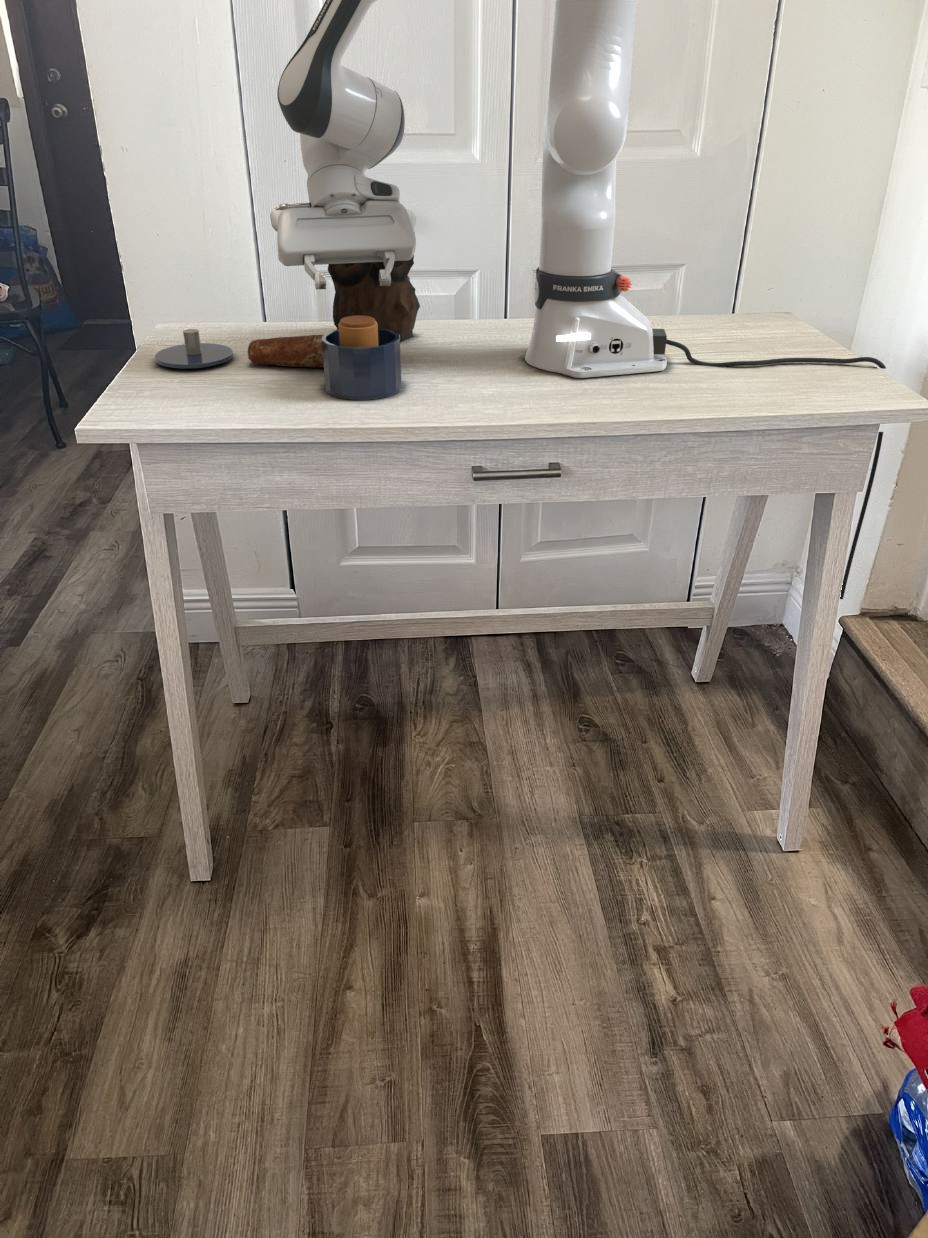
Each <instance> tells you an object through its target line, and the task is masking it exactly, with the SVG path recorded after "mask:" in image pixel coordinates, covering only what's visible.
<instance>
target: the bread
mask: <svg viewBox="0 0 928 1238" xmlns="http://www.w3.org/2000/svg"><path fill="white" fill-rule="evenodd" d="M325 334H326V333H325ZM325 334H324V333H323V334H309V335H296V336H295V335H294V336H279V337H269V338H260V339H259V338H258V339H253V340H252V341H251V342H249V344H248V346H247V359H248V361H250V362H251V363H252V364H254V365H255V364H256V365H265V366H269V365H270V366H279V367H292V368H293V367H294V368H298V367H302V368H320V369H324V363H323V350H322V336H324V335H325Z"/></svg>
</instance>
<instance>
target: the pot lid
mask: <svg viewBox="0 0 928 1238" xmlns="http://www.w3.org/2000/svg"><path fill="white" fill-rule="evenodd" d="M182 334H183V340H184V344H183V343H182V344H177V345H173V346H169V347H165V348H163V349H161V350H159V351H157V352H156V353H155V354H154V361H155V363H156V364H158V365H160V366H163V367H167V368H172V369H182V370H195V369H206V368H210V367H214V366H217V365H220V364H224V363H226V362H228V361H230V360H231V359H232V358H233V357H234V350H233V349H232V348H231V347H229V346H227V345H225V344H220V343H212V342H201V338H200V337H201V336H200V331H199V329H196V328H188V329H184V330H183V331H182Z"/></svg>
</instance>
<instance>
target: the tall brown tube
mask: <svg viewBox="0 0 928 1238" xmlns="http://www.w3.org/2000/svg"><path fill="white" fill-rule="evenodd" d="M338 327H339V342H340V346H346V347H371V346H378V324H377V322H376V321H375V318H373V317H370V316H348V317H344V318H342V319H341V320H340V323H339V324H338Z"/></svg>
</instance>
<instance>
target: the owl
mask: <svg viewBox="0 0 928 1238" xmlns="http://www.w3.org/2000/svg"><path fill="white" fill-rule="evenodd" d="M414 258H415V254H414V255H413V257H412V258H411V259H410V260H407V261H394V266H393V268H392V271H391V273H390V276H391V284H390V286H380V281H379V271H380V270H384V269H385V268H386V267H385V266H384V263H383V262H364V263H343V264H327V272H328V274H329V276H330V279H331V280H332V283H333V287H334V297H333V303H332V322H333V325H334V326H335V328H336V330H339V327H338V324H339V323H340V320H341V319H342V318H344V317H348V316H370V317H373V318H375V321H376V322H377V324H378V328H383V329H388V330H392V331H394V332H396V333H398V334H399V335H400V342H403V341H405V340H407V339H411V338H413V337H414V328H415V324H416V321H417V316H418V312H419V309H420V308H421V304H420V302H419V298H418V296H417V293H416V287H414V285H413V284H412V282H411V280H410V279H411V278H410V276H409V273H410V271H411V269H412V268H413V266H414V265H415V261H414Z"/></svg>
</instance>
